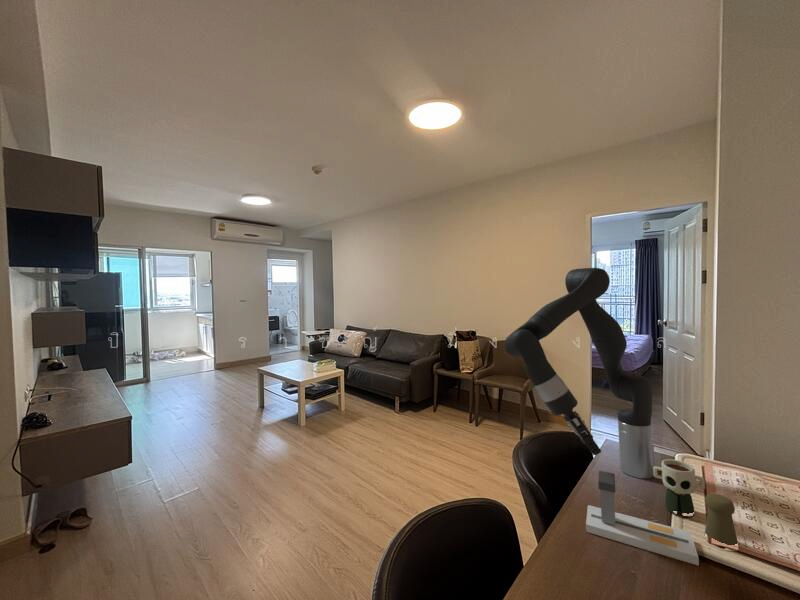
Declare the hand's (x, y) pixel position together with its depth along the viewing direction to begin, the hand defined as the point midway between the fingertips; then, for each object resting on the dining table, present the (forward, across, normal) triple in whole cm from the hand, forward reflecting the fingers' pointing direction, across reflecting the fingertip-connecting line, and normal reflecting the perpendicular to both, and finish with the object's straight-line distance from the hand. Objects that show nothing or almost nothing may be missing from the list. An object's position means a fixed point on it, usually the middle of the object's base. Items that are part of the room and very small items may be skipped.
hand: (592, 447), depth 87 cm
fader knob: (+17, +2, +7) cm, 19 cm away
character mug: (+29, +13, -10) cm, 33 cm away
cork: (+32, +2, -12) cm, 34 cm away
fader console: (+22, 0, +3) cm, 22 cm away
